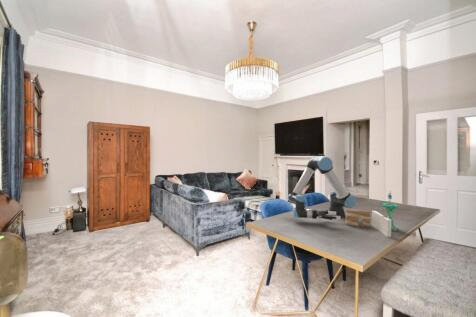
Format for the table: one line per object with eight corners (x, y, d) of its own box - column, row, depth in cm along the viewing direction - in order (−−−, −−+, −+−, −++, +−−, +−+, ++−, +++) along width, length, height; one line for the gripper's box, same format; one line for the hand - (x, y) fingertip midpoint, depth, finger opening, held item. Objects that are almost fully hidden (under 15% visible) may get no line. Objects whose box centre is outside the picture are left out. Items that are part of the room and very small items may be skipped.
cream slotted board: (371, 224, 178) (372, 210, 178) (374, 225, 177) (375, 210, 177) (387, 236, 152) (387, 220, 152) (390, 237, 152) (391, 220, 152)
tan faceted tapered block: (345, 223, 180) (345, 209, 180) (368, 225, 177) (369, 210, 176) (346, 224, 178) (346, 210, 177) (370, 226, 174) (370, 211, 174)
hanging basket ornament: (380, 225, 177) (381, 189, 177) (396, 227, 173) (397, 190, 172) (382, 229, 168) (383, 191, 167) (399, 231, 163) (400, 192, 162)
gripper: (309, 214, 196) (334, 215, 192) (313, 222, 172) (342, 224, 168) (309, 206, 196) (334, 207, 192) (314, 213, 172) (342, 215, 168)
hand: (338, 215), depth 180 cm, fingers open, 13 cm apart
